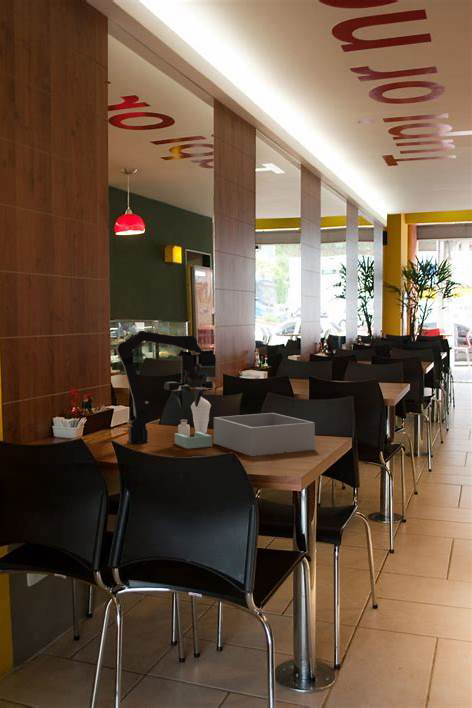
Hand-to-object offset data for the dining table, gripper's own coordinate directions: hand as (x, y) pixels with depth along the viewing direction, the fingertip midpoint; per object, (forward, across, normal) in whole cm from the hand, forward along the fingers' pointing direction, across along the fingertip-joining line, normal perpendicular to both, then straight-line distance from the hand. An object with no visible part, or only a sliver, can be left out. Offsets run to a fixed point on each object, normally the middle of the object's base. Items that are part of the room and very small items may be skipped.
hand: (188, 407), depth 284 cm
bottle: (+13, -4, -3) cm, 14 cm away
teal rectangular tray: (+13, -4, -12) cm, 18 cm away
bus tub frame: (+13, +18, -27) cm, 35 cm away
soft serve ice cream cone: (+13, +11, +13) cm, 21 cm away
